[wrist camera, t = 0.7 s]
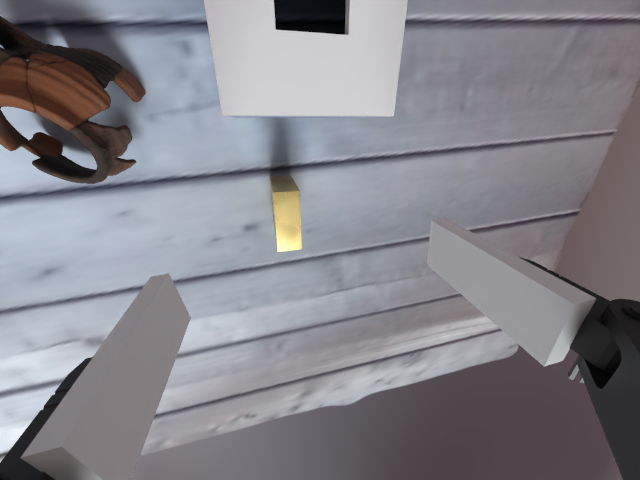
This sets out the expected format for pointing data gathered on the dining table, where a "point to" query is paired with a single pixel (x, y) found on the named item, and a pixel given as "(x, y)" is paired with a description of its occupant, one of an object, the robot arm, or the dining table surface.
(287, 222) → the gold metal bar
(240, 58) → the coin box
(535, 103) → the dining table surface
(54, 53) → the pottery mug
